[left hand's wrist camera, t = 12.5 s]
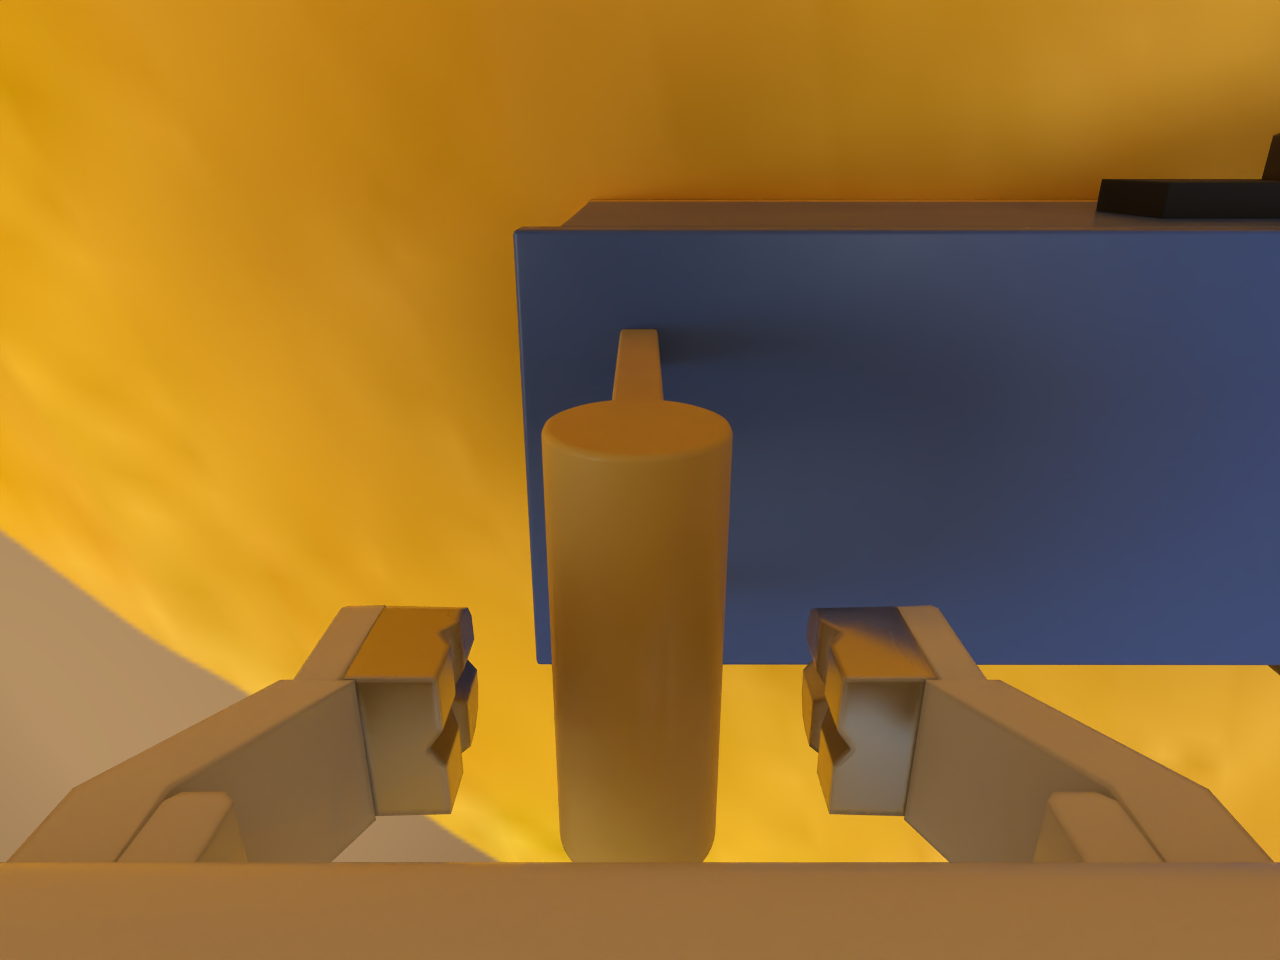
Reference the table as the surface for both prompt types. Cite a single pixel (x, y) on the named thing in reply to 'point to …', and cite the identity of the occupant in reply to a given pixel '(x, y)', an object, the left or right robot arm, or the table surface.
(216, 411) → the table surface
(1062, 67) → the table surface
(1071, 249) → the lid
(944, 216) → the chest
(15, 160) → the table surface
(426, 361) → the table surface
